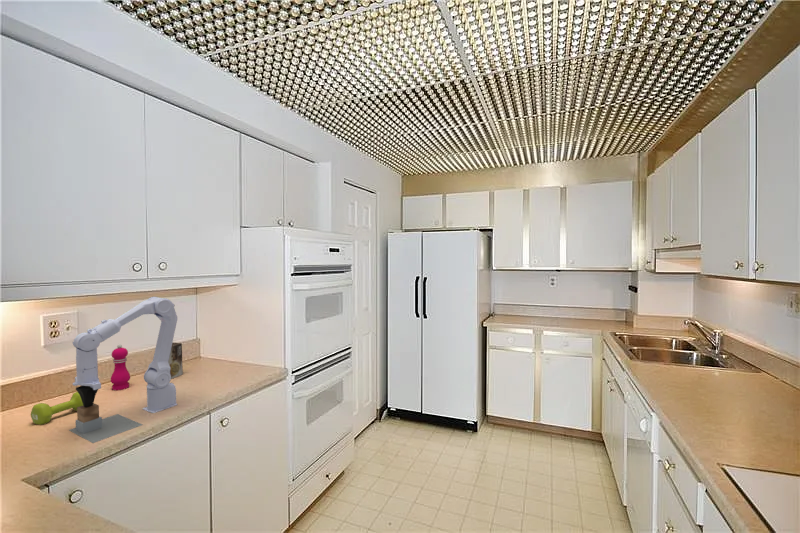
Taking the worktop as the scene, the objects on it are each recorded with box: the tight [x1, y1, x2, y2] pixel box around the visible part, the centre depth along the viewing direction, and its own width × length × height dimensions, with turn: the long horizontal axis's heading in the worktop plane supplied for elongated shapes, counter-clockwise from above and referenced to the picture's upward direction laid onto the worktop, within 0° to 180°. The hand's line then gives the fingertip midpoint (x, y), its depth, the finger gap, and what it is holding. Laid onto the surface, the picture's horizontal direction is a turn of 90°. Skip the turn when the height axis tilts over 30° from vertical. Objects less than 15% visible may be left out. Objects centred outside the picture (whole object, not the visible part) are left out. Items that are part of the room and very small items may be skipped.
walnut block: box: [76, 402, 100, 423], centre depth 132 cm, size 4×4×4 cm
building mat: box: [68, 413, 144, 444], centre depth 134 cm, size 15×18×1 cm
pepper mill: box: [110, 344, 131, 391], centre depth 173 cm, size 7×7×20 cm
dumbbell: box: [30, 391, 83, 426], centre depth 143 cm, size 16×8×7 cm, turn 160°
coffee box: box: [168, 341, 184, 380], centre depth 188 cm, size 9×6×16 cm
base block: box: [75, 416, 103, 434], centre depth 133 cm, size 6×6×4 cm
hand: (88, 406), depth 132 cm, fingers closed
